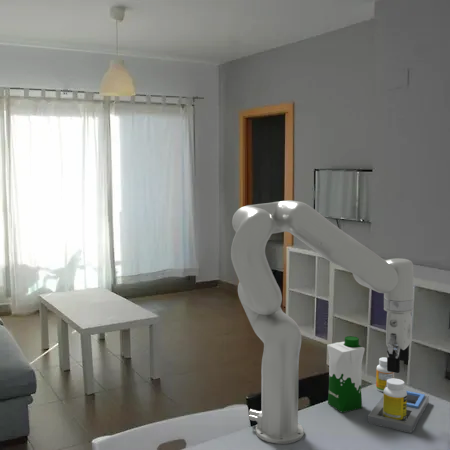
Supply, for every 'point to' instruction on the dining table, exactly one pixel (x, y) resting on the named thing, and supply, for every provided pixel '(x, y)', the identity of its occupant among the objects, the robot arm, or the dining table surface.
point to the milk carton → (345, 374)
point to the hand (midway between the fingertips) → (398, 365)
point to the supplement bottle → (382, 374)
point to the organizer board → (411, 412)
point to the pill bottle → (395, 400)
